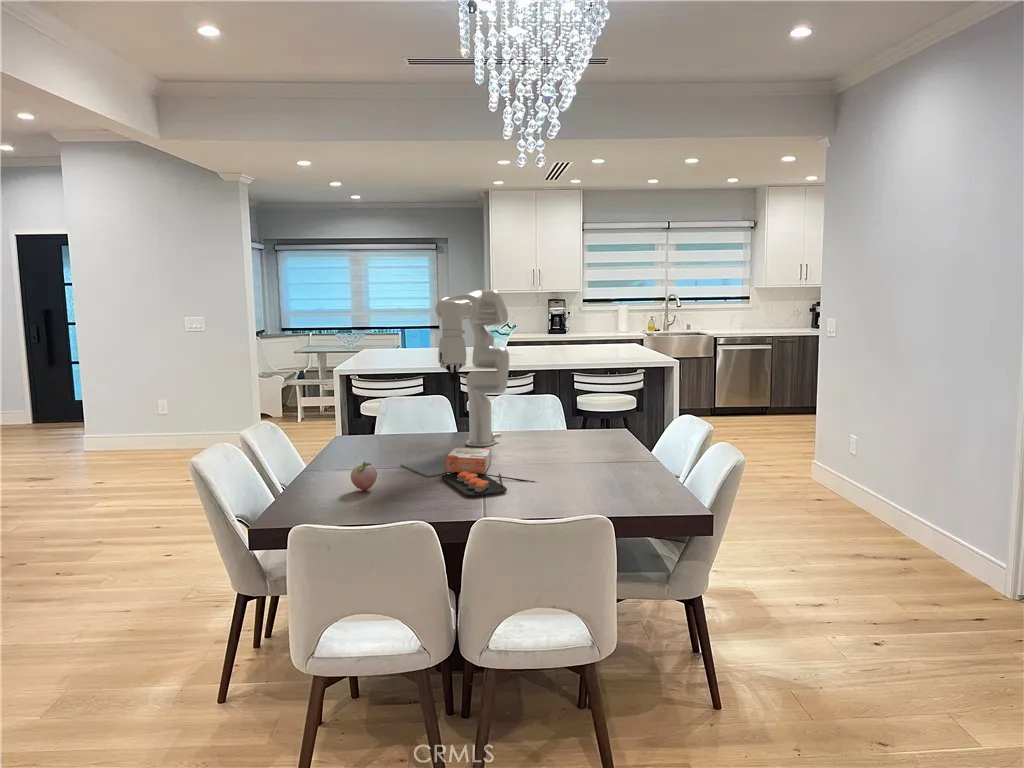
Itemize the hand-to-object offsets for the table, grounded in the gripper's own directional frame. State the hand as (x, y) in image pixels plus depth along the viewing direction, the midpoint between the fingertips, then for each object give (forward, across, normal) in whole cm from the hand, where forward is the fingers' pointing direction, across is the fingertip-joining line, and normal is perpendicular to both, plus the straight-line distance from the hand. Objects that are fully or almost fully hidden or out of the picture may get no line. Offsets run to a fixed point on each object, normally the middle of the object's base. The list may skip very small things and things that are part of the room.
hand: (453, 382), depth 266 cm
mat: (+31, +9, +3) cm, 32 cm away
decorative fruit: (+30, +45, +17) cm, 57 cm away
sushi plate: (+31, +5, +35) cm, 47 cm away
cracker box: (+27, -4, +6) cm, 28 cm away
